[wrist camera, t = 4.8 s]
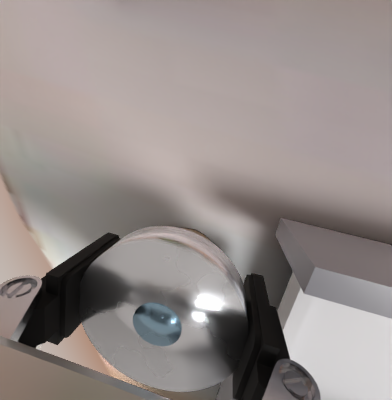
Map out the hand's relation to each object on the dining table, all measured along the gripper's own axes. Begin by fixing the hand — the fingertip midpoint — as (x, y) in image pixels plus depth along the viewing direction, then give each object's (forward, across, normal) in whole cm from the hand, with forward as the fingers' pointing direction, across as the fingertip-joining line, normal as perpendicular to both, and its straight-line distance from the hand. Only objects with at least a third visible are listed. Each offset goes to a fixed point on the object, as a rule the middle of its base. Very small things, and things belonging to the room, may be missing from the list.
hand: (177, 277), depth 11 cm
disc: (-1, 0, 0) cm, 1 cm away
